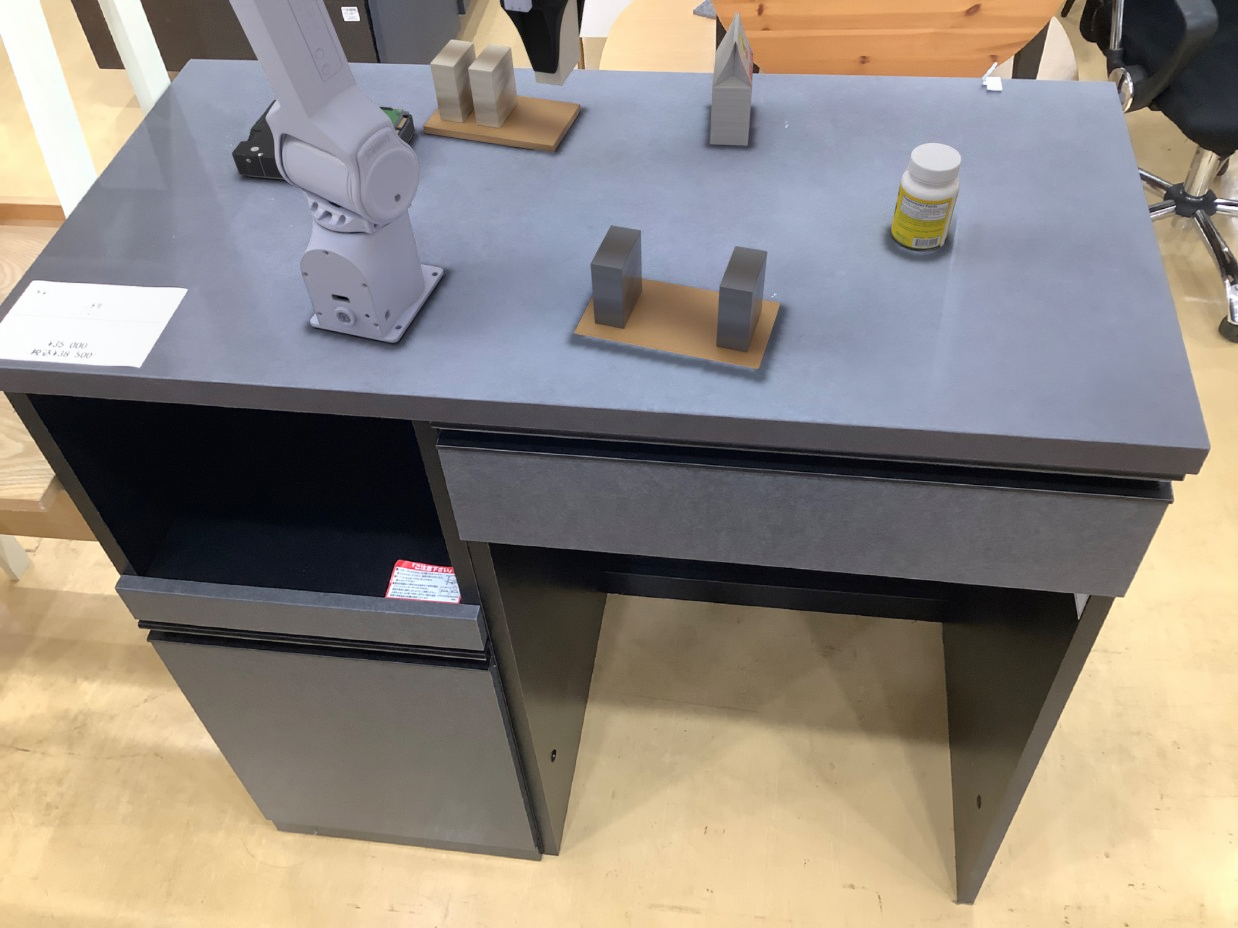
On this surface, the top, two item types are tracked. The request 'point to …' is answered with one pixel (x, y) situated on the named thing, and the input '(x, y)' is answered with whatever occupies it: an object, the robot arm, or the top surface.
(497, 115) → the cream rack
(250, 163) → the disk drive
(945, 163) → the supplement bottle
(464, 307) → the top surface
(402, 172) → the robot arm
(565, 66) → the beige block
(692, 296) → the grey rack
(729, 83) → the gable top juice carton
